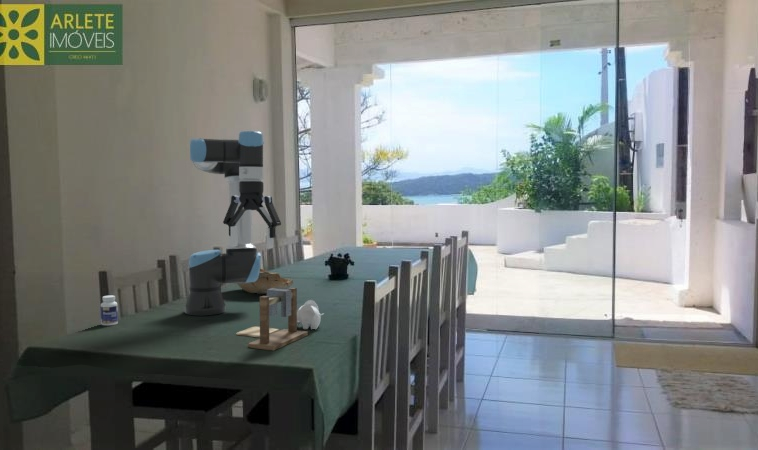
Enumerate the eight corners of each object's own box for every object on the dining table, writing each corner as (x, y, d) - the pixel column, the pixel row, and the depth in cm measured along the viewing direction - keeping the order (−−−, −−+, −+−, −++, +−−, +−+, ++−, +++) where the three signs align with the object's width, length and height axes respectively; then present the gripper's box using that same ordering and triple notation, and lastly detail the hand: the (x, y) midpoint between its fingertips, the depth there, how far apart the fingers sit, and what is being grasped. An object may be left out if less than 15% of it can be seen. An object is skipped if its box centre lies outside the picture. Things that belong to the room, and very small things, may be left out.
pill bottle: (101, 326, 207) (100, 298, 206) (100, 323, 212) (99, 295, 211) (118, 324, 210) (117, 297, 209) (117, 321, 214) (116, 294, 214)
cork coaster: (236, 334, 197) (236, 332, 197) (254, 328, 206) (254, 326, 206) (262, 337, 193) (262, 336, 193) (279, 330, 202) (279, 329, 202)
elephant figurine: (291, 324, 212) (291, 299, 212) (326, 324, 212) (326, 299, 211) (287, 330, 203) (286, 304, 202) (322, 331, 202) (322, 305, 202)
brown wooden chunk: (307, 286, 278) (303, 255, 275) (267, 307, 256) (262, 273, 253) (259, 282, 294) (254, 253, 291) (218, 301, 272) (212, 269, 269)
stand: (273, 350, 178) (273, 299, 177) (248, 347, 182) (247, 296, 181) (307, 335, 197) (307, 288, 196) (284, 332, 200) (283, 286, 199)
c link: (266, 315, 189) (266, 289, 188) (272, 313, 192) (272, 288, 191) (286, 317, 186) (285, 291, 186) (291, 315, 189) (291, 289, 188)
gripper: (211, 180, 193) (212, 246, 194) (278, 180, 183) (279, 250, 185) (226, 180, 200) (226, 244, 201) (291, 180, 190) (291, 248, 191)
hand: (251, 247), depth 193 cm, fingers open, 13 cm apart
